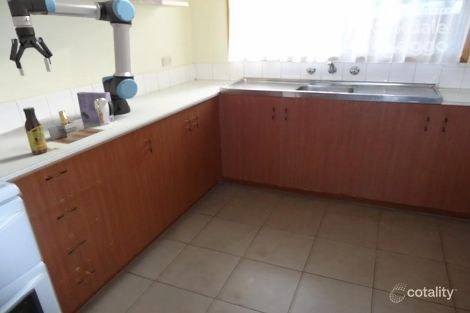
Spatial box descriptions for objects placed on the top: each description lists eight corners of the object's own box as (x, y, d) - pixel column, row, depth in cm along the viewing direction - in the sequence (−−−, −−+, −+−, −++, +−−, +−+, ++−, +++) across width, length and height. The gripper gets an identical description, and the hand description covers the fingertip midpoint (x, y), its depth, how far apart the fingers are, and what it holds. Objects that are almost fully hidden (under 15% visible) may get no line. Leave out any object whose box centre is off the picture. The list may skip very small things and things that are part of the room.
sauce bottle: (40, 155, 139) (26, 110, 132) (28, 154, 141) (14, 110, 133) (52, 149, 145) (39, 106, 137) (41, 149, 147) (28, 106, 139)
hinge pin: (68, 133, 162) (61, 110, 157) (72, 134, 160) (65, 110, 156) (64, 135, 159) (56, 112, 155) (68, 136, 158) (61, 112, 154)
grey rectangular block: (69, 131, 164) (66, 121, 162) (78, 132, 161) (75, 122, 159) (47, 139, 154) (44, 128, 152) (56, 140, 151) (53, 129, 149)
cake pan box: (117, 122, 184) (111, 91, 177) (112, 124, 179) (105, 92, 173) (87, 121, 188) (80, 91, 182) (82, 124, 184) (74, 93, 177)
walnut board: (83, 130, 172) (82, 127, 172) (105, 132, 166) (104, 129, 165) (45, 143, 154) (45, 140, 153) (68, 147, 147) (68, 143, 147)
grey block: (79, 129, 169) (76, 117, 167) (88, 130, 166) (85, 118, 164) (58, 136, 159) (55, 124, 156) (67, 137, 156) (64, 125, 154)
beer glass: (98, 128, 173) (92, 101, 167) (99, 125, 179) (93, 98, 173) (112, 127, 175) (106, 99, 169) (113, 123, 181) (107, 97, 175)
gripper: (1, 27, 138) (16, 77, 146) (53, 25, 159) (64, 70, 167) (-10, 28, 141) (6, 77, 149) (43, 26, 162) (54, 69, 170)
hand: (36, 73), depth 158 cm, fingers open, 13 cm apart
